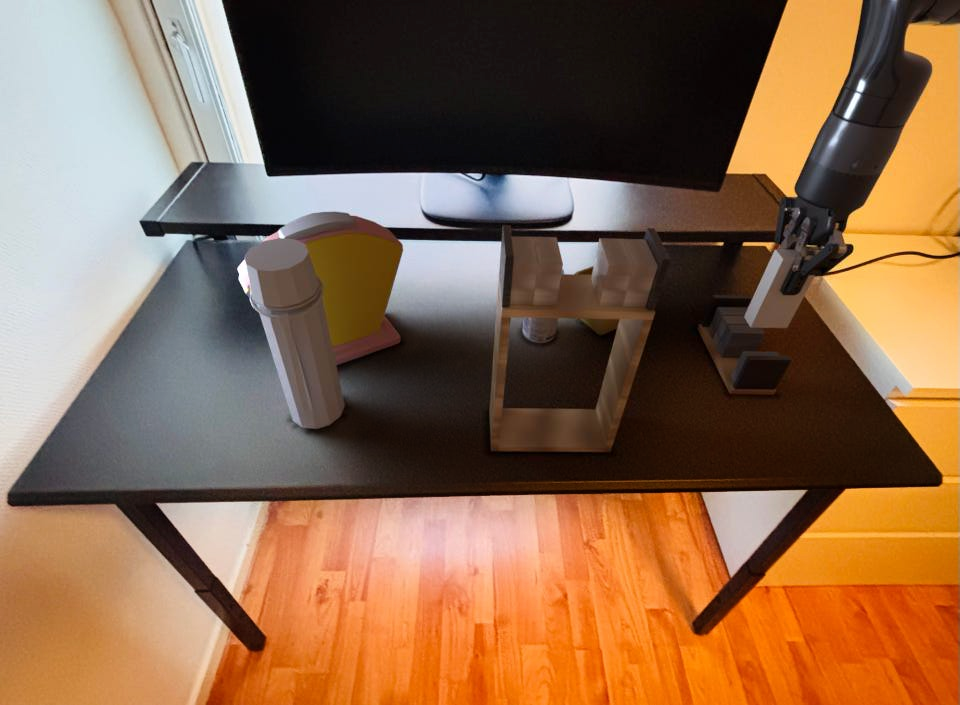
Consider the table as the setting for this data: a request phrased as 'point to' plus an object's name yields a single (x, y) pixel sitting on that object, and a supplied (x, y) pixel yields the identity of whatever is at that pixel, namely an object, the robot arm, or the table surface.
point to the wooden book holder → (581, 279)
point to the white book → (775, 294)
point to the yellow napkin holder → (348, 277)
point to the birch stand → (566, 425)
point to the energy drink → (540, 328)
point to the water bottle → (296, 329)
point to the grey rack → (740, 348)
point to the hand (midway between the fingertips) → (783, 286)
